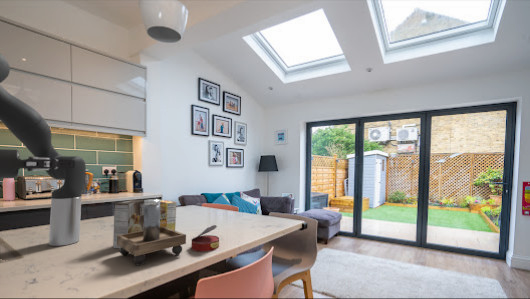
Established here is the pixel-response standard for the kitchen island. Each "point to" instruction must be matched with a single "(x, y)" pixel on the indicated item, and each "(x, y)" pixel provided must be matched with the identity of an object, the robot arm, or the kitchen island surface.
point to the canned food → (205, 241)
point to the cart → (150, 243)
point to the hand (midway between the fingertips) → (71, 164)
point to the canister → (151, 220)
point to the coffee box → (128, 218)
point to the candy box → (168, 214)
